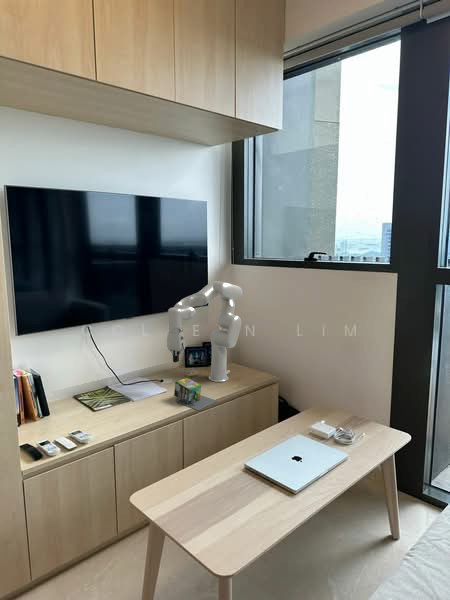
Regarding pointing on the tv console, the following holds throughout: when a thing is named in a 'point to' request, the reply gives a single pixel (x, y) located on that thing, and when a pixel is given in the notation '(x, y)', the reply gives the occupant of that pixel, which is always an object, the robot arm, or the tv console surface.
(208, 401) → the mat
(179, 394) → the chalk box
